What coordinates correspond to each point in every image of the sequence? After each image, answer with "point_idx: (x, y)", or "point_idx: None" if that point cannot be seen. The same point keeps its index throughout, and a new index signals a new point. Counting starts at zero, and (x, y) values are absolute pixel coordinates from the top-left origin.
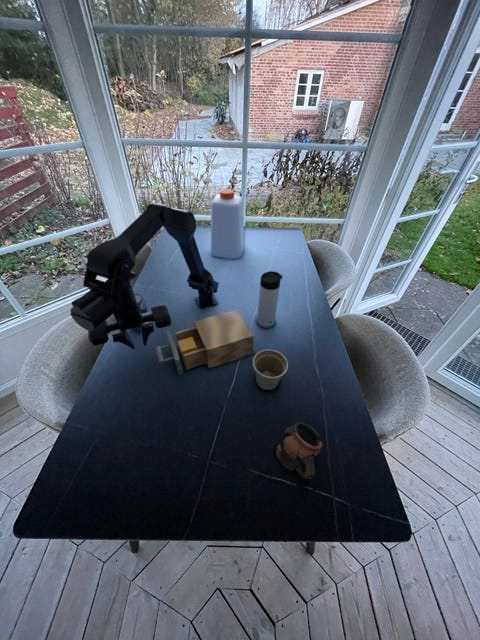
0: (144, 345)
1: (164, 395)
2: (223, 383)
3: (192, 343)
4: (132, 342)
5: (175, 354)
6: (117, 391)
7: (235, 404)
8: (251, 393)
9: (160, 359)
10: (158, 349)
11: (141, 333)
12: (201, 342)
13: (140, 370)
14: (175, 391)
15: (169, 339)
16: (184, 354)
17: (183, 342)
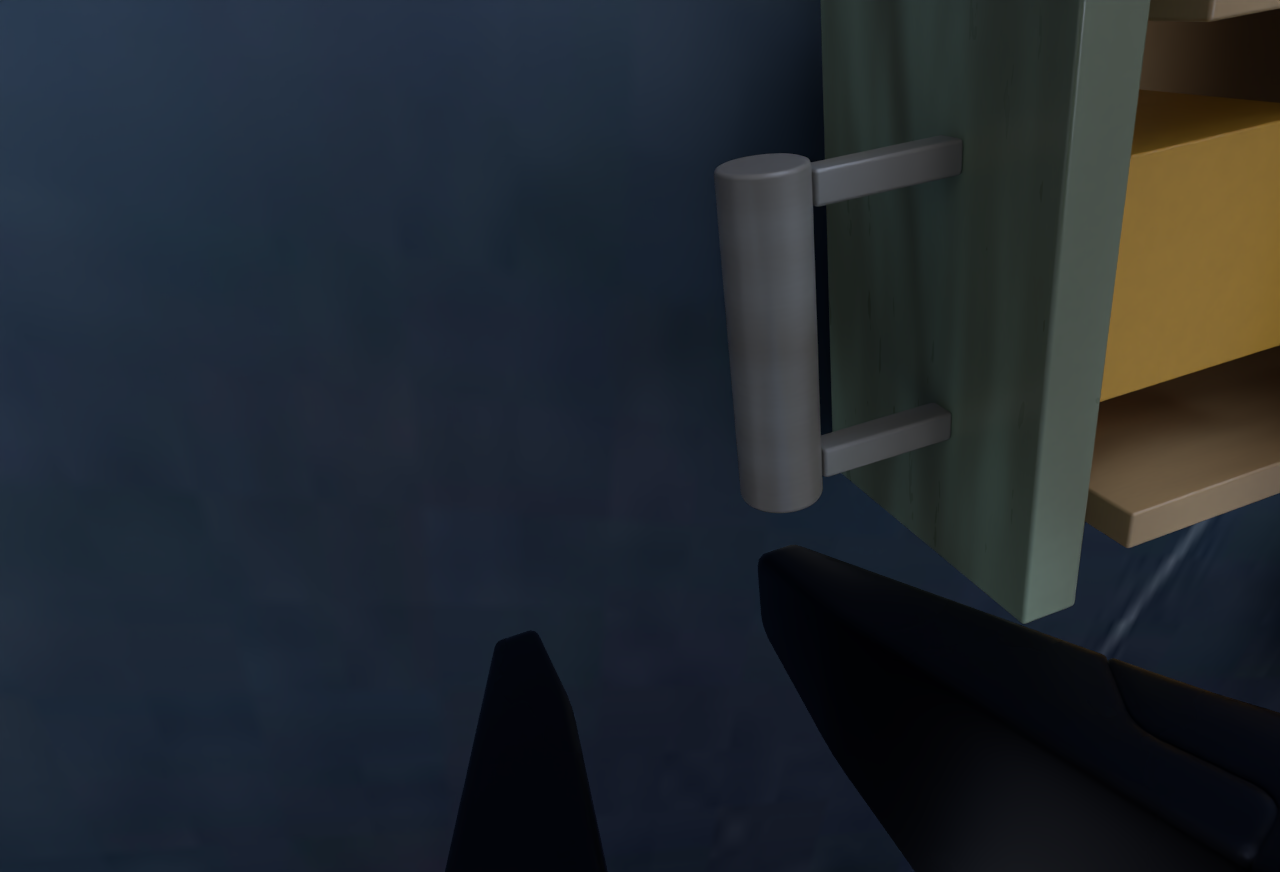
0: (797, 667)
1: (643, 646)
2: (1122, 549)
3: (1272, 265)
4: (595, 815)
5: (1054, 524)
6: (65, 591)
7: None
8: (1232, 635)
9: (789, 476)
10: (791, 265)
11: (1058, 836)
12: (1231, 37)
13: (347, 291)
14: (748, 608)
15: (1080, 176)
16: (1144, 519)
17: (1186, 217)
